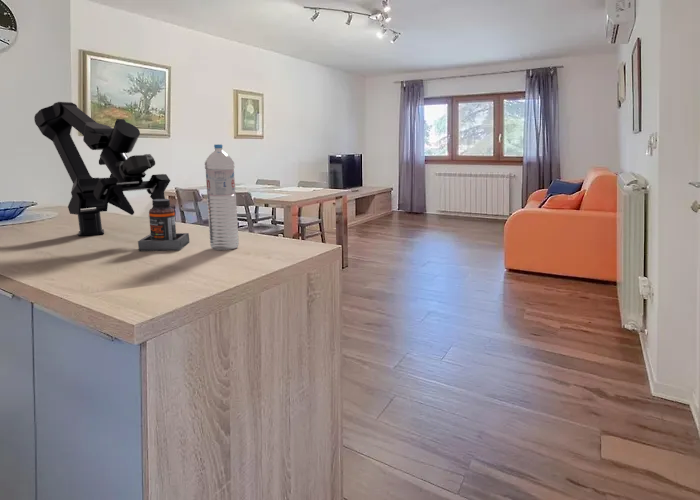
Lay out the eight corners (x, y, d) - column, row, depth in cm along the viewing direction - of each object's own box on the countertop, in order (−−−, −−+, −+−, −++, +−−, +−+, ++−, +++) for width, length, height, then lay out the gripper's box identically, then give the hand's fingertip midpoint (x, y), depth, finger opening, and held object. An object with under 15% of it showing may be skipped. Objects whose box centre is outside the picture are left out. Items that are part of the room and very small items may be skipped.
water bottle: (231, 251, 115) (225, 144, 110) (205, 250, 117) (197, 144, 111) (243, 245, 122) (237, 144, 116) (218, 244, 123) (211, 144, 118)
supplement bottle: (146, 246, 119) (142, 200, 116) (159, 241, 124) (155, 198, 122) (169, 247, 118) (165, 201, 115) (181, 242, 124) (177, 198, 121)
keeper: (138, 251, 116) (137, 241, 116) (151, 243, 125) (150, 233, 125) (179, 250, 117) (178, 240, 116) (189, 242, 126) (188, 233, 126)
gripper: (94, 143, 114) (126, 193, 110) (163, 143, 129) (193, 187, 125) (80, 176, 120) (110, 224, 116) (147, 172, 135) (176, 214, 131)
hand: (149, 211), depth 122 cm, fingers open, 9 cm apart
